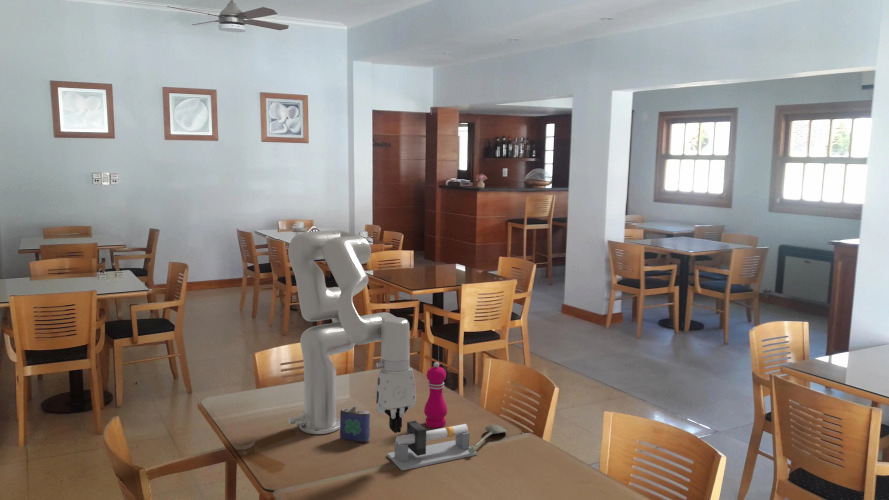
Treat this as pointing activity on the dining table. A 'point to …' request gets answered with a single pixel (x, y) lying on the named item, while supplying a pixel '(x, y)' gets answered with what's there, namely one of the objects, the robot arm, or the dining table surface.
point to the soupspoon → (492, 430)
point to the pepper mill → (436, 398)
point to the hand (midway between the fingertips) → (395, 430)
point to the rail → (432, 448)
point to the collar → (417, 437)
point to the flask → (354, 425)
